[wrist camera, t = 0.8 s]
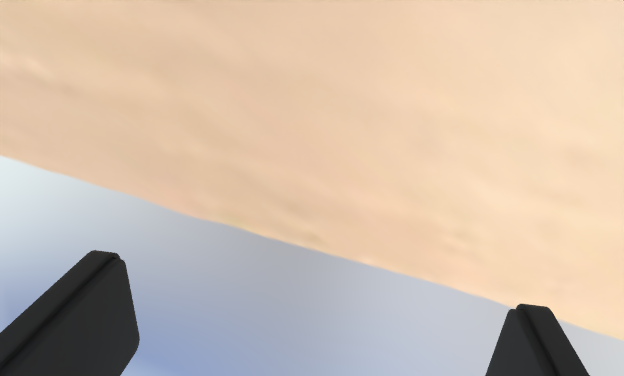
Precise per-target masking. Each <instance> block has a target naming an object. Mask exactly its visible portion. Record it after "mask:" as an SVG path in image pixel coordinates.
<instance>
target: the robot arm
mask: <svg viewBox="0 0 624 376" xmlns="http://www.w3.org/2000/svg"><path fill="white" fill-rule="evenodd" d="M138 345H139V332H138V326H137V321H136V316H135V311H134V305H133V300H132V295H131V290H130V284H129V279H128V275H127V269H126V265H125V262H124V261H123V260H121V259H120V257H119V255H118V254H117V253H112V252H104V251H96V250H94V251H91V252H89V253H88V254H87V255H86V256H85V257H83V258H82V259H81V260H80V261H79V262H78V263H77V264H76V265H75V266H73V267H72V268H71V269H70V270H69V271H68V272H67V273H66V274H65V275H64V276H63V277H62V278H60V279H59V280H58V281H57V282H56V283H55V284H54V285H53V286H51V287H50V288H49V289H48V290H47V291H46V292H45V293H44V294H43V295H42V296H40V297H39V298H38V299H37V300H36V301H35V302H34V303H33V304H32V305H31V306H29V307H28V309H26V310H25V311H24V312H23V313H22V314H21V315H20V316H18V317H17V318H16V319H15V320H14V321H13V322H12V323H11V324H10V325H9V326H7V327H6V328H5V329H4V330H3V331H2V332H1V333H0V376H120V375H121V374H122V372H123V371H124V369H125V368H126V366H127V365H128V363H129V361H130V360H131V358H132V357H133V355H134V354H135V352H136V350H137V348H138ZM485 376H590V375H589V374H588V373H587V371H586V369H585V367H584V366H583V364H582V362H581V360H580V359H579V357H578V355H577V354H576V352H575V350H574V349H573V347H572V345H571V344H570V342H569V340H568V338H567V337H566V335H565V333H564V331H563V330H562V328H561V326H560V325H559V323H558V321H557V319H556V318H555V316H554V314H553V313H552V311H551V310H550V309H549V308H548V307H544V306H536V305H528V304H519V305H518V306H517V308H516V309H511V310H509V312H508V314H507V317H506V319H505V322H504V325H503V328H502V330H501V333H500V336H499V339H498V342H497V345H496V347H495V350H494V353H493V356H492V358H491V361H490V364H489V367H488V370H487V373H486V375H485Z"/></svg>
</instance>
